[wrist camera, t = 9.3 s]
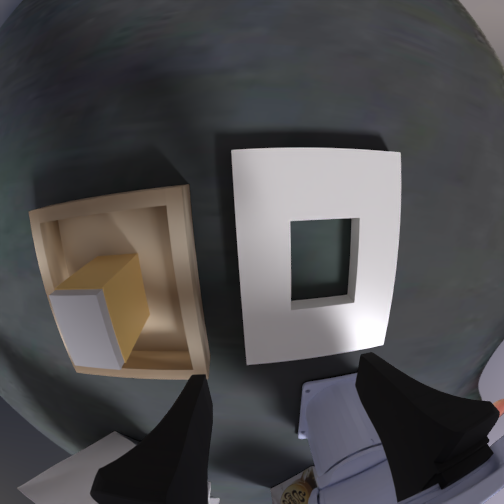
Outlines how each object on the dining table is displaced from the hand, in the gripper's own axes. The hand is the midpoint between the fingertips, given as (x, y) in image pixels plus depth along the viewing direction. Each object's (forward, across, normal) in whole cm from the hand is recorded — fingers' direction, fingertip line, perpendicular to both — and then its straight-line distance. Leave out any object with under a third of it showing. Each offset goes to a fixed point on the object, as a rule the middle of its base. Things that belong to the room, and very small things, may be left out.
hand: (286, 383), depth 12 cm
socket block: (+10, -4, -2) cm, 11 cm away
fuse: (+9, +11, -2) cm, 14 cm away
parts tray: (+10, +11, -2) cm, 15 cm away
